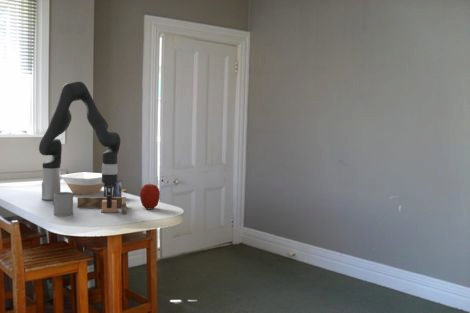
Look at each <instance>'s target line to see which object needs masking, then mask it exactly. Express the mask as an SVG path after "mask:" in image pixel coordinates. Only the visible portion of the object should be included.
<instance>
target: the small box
mask: <svg viewBox="0 0 470 313" xmlns="http://www.w3.org/2000/svg"><path fill="white" fill-rule="evenodd" d="M122 181H123V180H122V179H117V183H112V185H113V186H114V190H113V196H112V197H122V192H123V191H122V190H123V189H122V187H123V186H122V183H123V182H122ZM106 186H107V183H104V185H103V197H107V196H106V190H105V187H106Z"/></svg>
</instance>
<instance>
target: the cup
mask: <svg viewBox="0 0 470 313" xmlns="http://www.w3.org/2000/svg"><path fill="white" fill-rule="evenodd" d="M53 215H54V216H57V217H68V216H72V215H74V193H72V191H71V192H70V191H60V192H58V193H54V200H53Z"/></svg>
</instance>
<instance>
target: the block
mask: <svg viewBox="0 0 470 313" xmlns="http://www.w3.org/2000/svg"><path fill="white" fill-rule="evenodd" d="M117 208H118V207H117V200H112V207H111V208H107V200H102V207H101V210H102V212H101V213H113V212H112V211H117V210H118V209H117Z"/></svg>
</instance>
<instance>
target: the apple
mask: <svg viewBox="0 0 470 313" xmlns="http://www.w3.org/2000/svg"><path fill="white" fill-rule="evenodd" d="M160 192H161V190H160V188H159V186H158V185H156V184H151V183H148V184H144V185H143V186H142V187H141V188H140V192H139V198H140V199H139V200H140V203H141V205H142V206H143V208H144V209H145V210H152V209H153V210H154V209H155V208H156V207H157V206H158V205H159V201H160V196H161V193H160Z"/></svg>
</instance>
